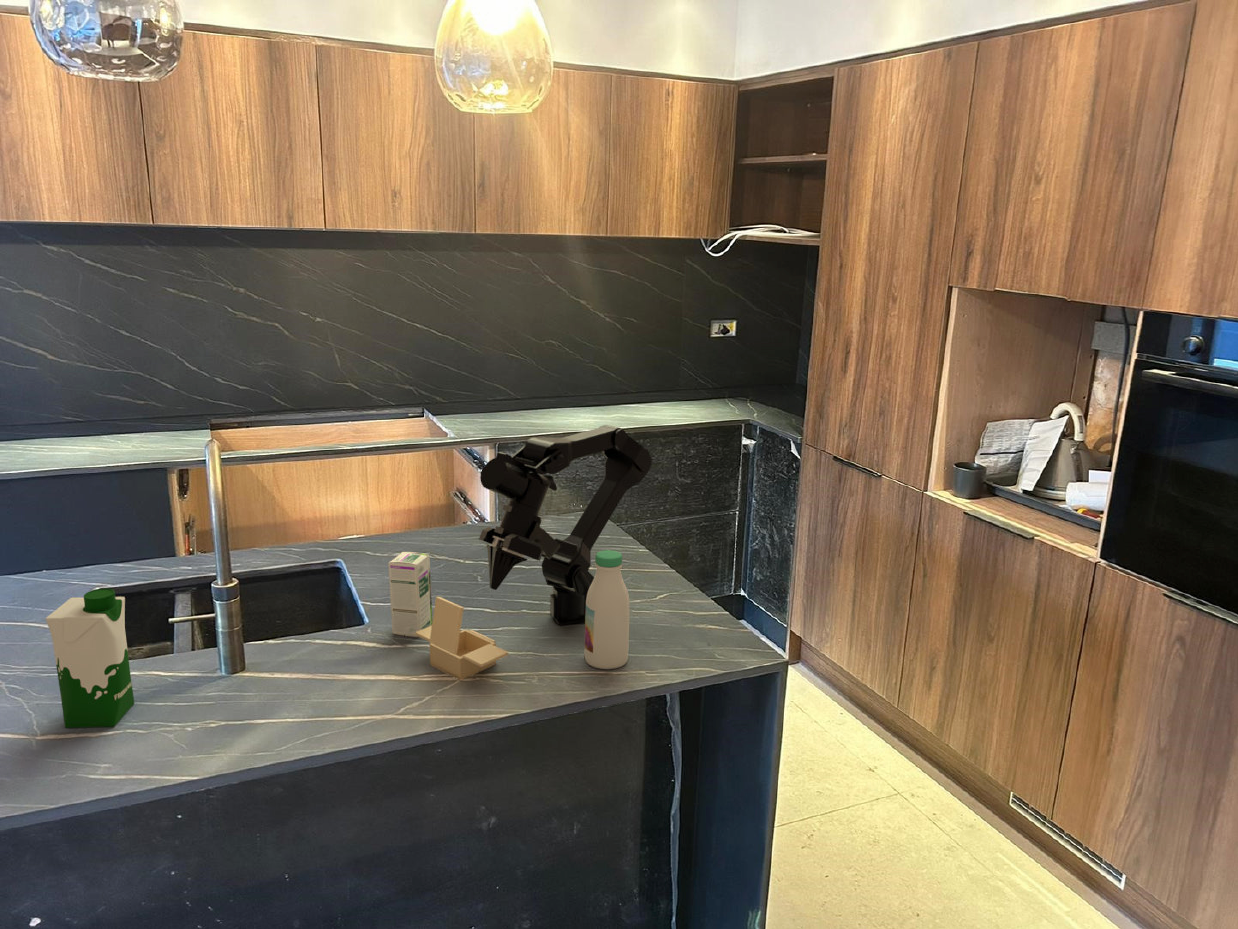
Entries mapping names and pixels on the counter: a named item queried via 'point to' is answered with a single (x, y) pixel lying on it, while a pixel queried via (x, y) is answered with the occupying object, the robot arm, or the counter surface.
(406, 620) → the syrup box
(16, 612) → the counter surface
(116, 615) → the milk carton
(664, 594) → the counter surface
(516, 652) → the counter surface
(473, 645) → the carton
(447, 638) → the back flap
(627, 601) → the milk bottle
